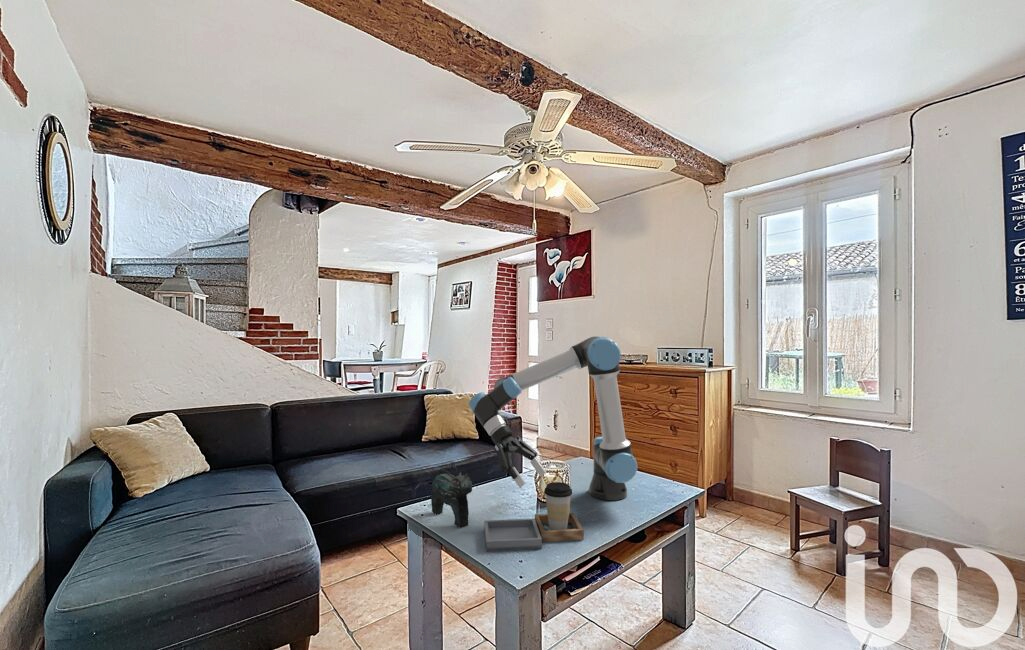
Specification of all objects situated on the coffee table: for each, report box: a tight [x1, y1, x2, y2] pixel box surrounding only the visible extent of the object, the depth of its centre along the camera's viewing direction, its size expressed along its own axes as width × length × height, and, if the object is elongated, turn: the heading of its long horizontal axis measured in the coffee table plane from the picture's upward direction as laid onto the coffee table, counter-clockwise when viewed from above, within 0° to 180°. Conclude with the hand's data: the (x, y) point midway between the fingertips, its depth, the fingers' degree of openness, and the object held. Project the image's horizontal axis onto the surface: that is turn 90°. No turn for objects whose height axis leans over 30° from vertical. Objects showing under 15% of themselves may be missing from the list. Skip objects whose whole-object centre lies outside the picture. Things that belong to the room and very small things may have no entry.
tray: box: [483, 518, 543, 552], centre depth 148 cm, size 17×15×3 cm
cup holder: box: [534, 512, 585, 543], centre depth 154 cm, size 14×14×3 cm
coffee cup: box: [543, 481, 573, 530], centre depth 153 cm, size 9×9×15 cm
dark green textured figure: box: [430, 463, 473, 529], centre depth 162 cm, size 20×6×20 cm, turn 43°
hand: (533, 480), depth 158 cm, fingers open, 13 cm apart
